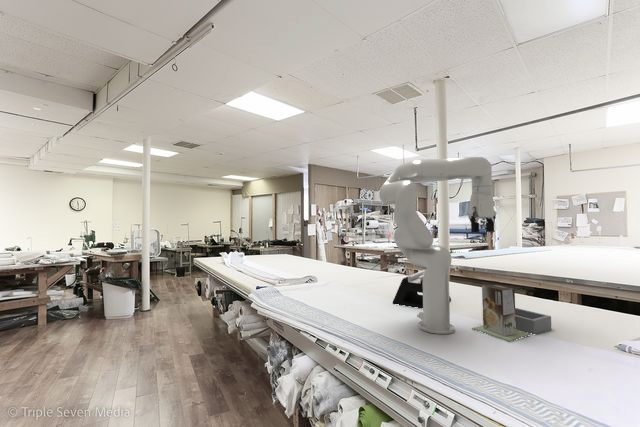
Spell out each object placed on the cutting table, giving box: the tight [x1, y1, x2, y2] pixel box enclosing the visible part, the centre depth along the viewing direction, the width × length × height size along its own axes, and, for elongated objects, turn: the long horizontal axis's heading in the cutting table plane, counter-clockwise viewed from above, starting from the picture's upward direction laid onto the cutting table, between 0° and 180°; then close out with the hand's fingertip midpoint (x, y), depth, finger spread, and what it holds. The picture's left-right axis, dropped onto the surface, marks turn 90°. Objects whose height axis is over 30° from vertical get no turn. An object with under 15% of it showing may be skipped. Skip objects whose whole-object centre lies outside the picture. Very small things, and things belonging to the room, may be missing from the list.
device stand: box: [392, 269, 452, 309], centre depth 154 cm, size 22×22×15 cm
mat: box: [471, 324, 531, 343], centre depth 111 cm, size 14×12×1 cm
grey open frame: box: [515, 307, 552, 335], centre depth 118 cm, size 14×11×6 cm
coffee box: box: [481, 283, 516, 336], centre depth 111 cm, size 9×6×16 cm
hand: (482, 232), depth 127 cm, fingers open, 9 cm apart
